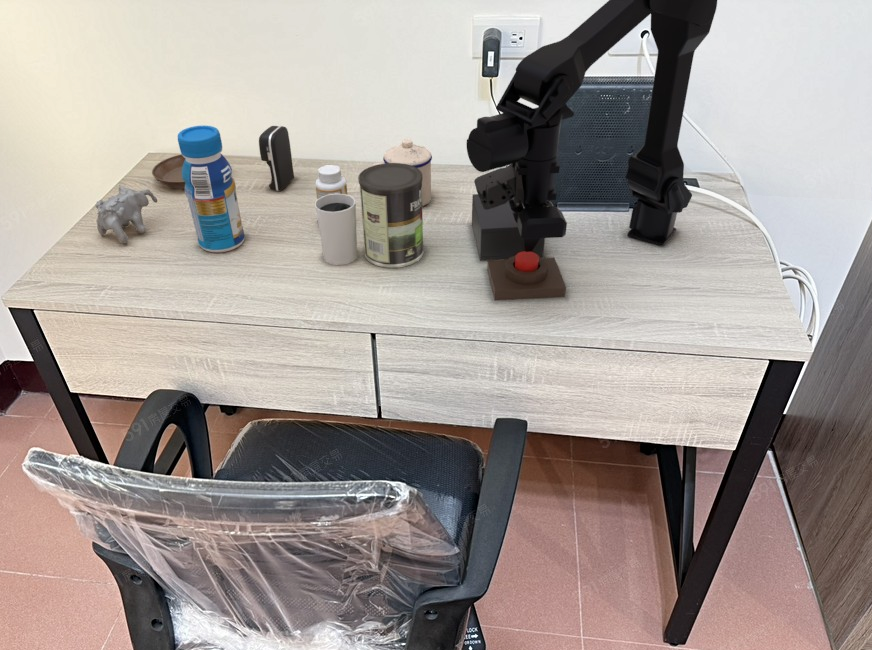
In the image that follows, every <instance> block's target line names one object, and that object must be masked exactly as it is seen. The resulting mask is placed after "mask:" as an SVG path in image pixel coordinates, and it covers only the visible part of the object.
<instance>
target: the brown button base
mask: <svg viewBox="0 0 872 650" xmlns="http://www.w3.org/2000/svg"><path fill="white" fill-rule="evenodd" d="M515 258H516V255H515V256H513V257H510V258H509V259H506V260H486V262H487V263H486V264H487V265H486V272H487V276H488V280H489V284H490V289H491V292H492V296H493V300H494V301H515V300H533V299H534V300H535V299H536V300H537V299H553V298H554V299H556V298H565V297H566V293H567V286H566V282H565V280H564V277H563V275H562V273H561V270H560V267H559V265H558V263H557V260H556V257H553V256H551V257H543V258H541V257H539V262H538V268H537V270H535V271H533V272H524V271H519V270H517V269H516V268H515Z"/></svg>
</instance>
